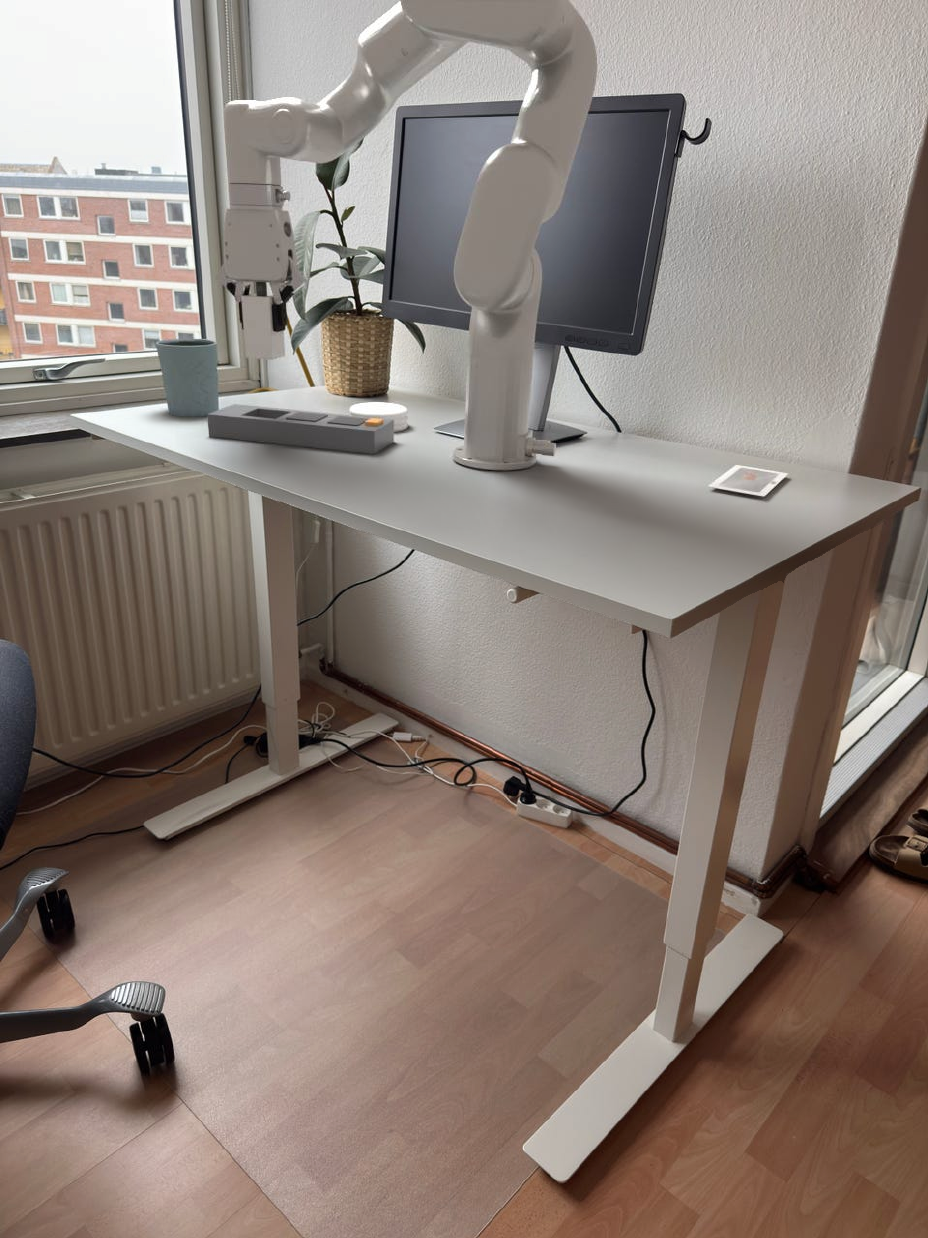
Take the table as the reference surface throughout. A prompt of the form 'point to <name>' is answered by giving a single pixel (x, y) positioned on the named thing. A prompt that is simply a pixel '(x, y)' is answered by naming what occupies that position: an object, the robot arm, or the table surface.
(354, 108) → the robot arm
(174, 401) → the blue-grey tapered cup
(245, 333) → the charger
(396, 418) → the coaster
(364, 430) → the power strip
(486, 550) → the table surface
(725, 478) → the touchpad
